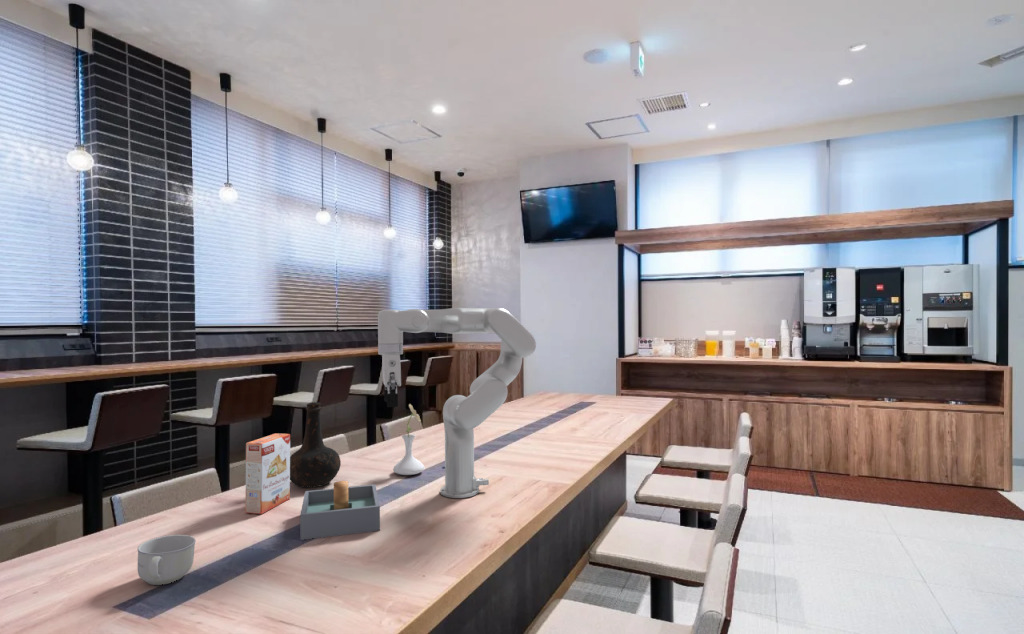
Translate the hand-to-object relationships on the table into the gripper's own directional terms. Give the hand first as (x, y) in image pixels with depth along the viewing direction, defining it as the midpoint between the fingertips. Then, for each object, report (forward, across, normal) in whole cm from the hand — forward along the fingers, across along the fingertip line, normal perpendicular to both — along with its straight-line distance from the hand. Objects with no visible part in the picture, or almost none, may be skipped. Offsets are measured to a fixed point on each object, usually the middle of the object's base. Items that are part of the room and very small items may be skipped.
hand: (391, 404), depth 168 cm
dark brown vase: (+31, +27, +24) cm, 47 cm away
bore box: (+30, -12, +15) cm, 36 cm away
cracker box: (+31, +8, +36) cm, 48 cm away
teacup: (+31, -36, +52) cm, 70 cm away
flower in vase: (+31, +30, -9) cm, 44 cm away
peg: (+30, -9, +15) cm, 35 cm away
